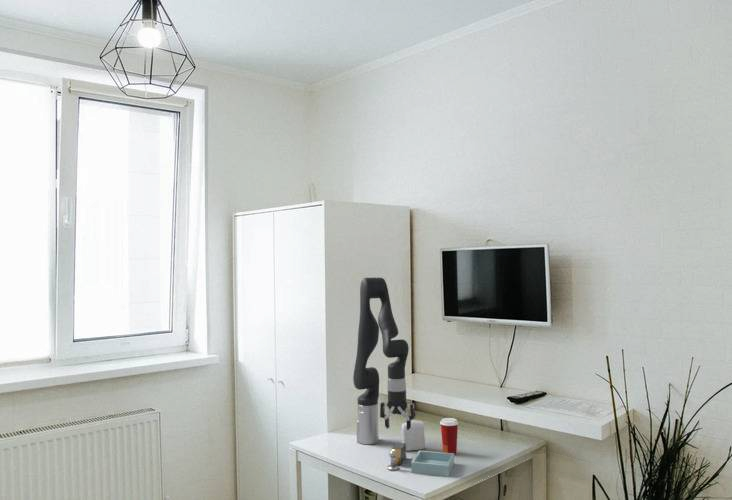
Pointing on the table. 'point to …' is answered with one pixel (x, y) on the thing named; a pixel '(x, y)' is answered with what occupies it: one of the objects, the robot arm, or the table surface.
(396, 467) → the stud post
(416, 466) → the bin
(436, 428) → the table surface
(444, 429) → the paper cup
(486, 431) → the table surface
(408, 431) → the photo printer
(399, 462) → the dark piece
